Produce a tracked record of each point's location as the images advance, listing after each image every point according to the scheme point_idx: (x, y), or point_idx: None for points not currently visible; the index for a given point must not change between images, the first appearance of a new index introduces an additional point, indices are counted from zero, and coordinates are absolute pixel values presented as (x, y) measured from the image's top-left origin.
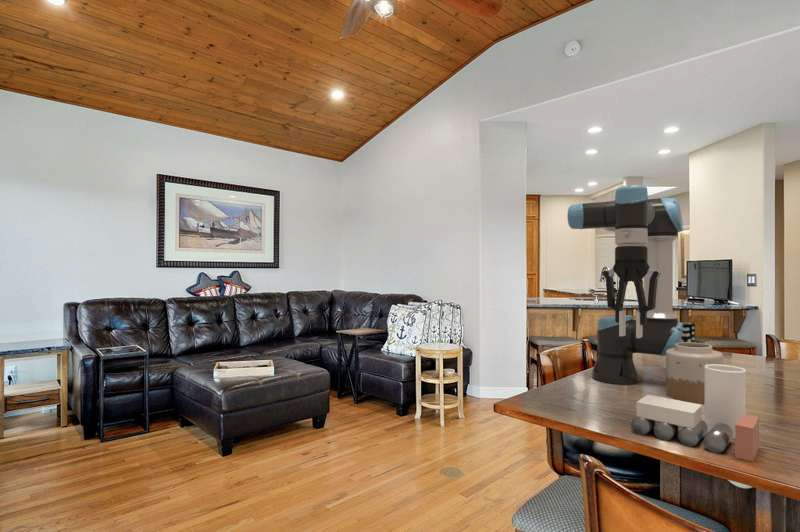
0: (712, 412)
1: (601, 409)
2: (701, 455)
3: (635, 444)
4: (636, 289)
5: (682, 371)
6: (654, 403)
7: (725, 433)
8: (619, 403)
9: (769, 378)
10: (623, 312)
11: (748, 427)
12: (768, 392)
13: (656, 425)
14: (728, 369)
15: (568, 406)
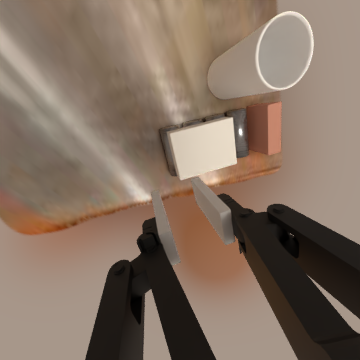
0: (232, 96)
1: (93, 125)
2: (230, 168)
3: (188, 195)
4: (294, 343)
5: None
6: (196, 166)
7: (247, 136)
8: (79, 65)
9: None
10: (175, 247)
11: (277, 152)
12: None
13: None
14: (281, 18)
15: (60, 156)
